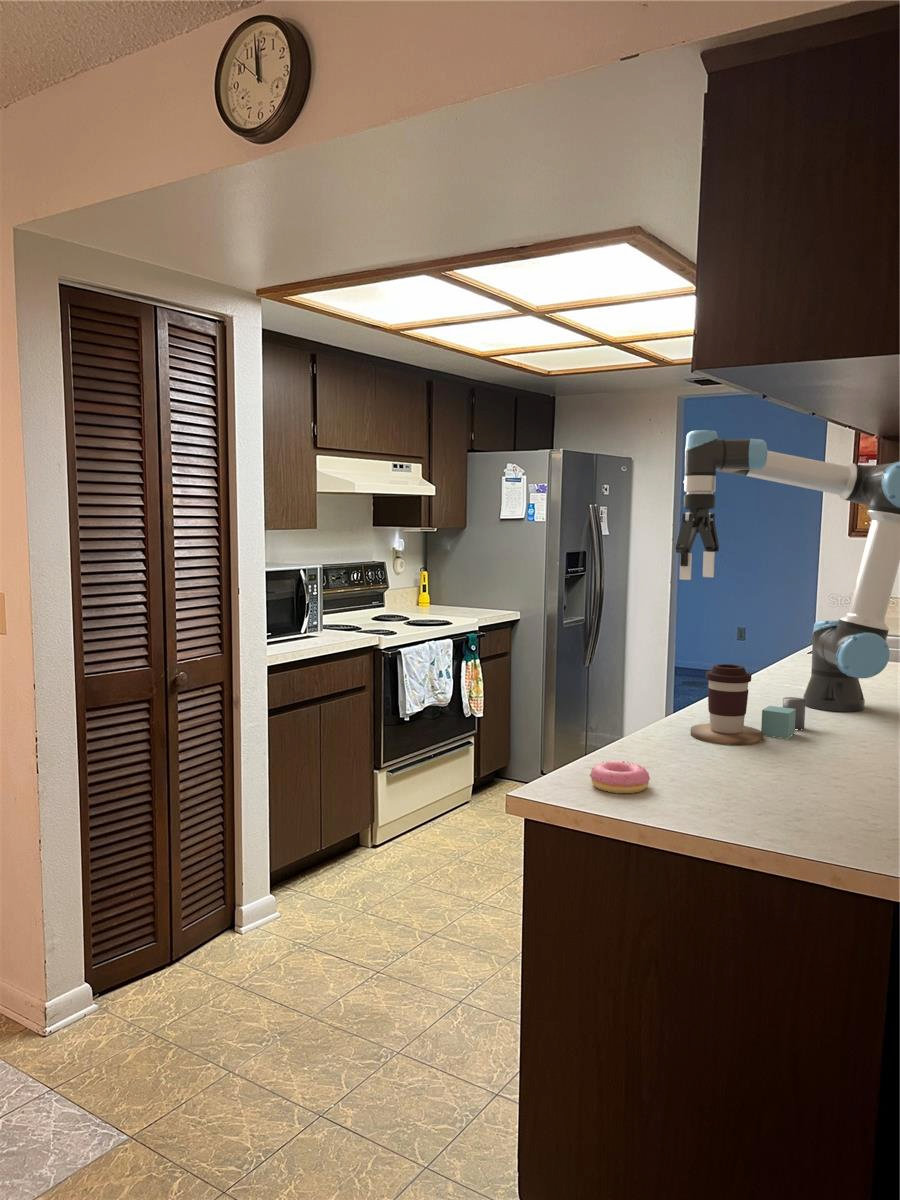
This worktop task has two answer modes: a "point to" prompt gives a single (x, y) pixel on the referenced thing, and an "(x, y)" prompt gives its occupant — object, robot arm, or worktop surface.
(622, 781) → the doughnut
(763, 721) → the teal block
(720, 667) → the coffee cup
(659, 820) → the worktop surface
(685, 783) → the worktop surface
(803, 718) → the gray cylinder
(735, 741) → the walnut board
